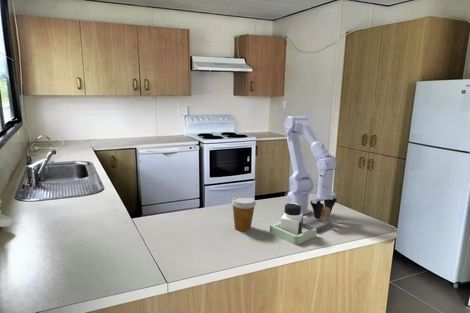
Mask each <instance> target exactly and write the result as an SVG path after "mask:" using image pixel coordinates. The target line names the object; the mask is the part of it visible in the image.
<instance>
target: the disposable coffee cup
mask: <svg viewBox="0 0 470 313" xmlns="http://www.w3.org/2000/svg"><path fill="white" fill-rule="evenodd" d="M231 204H232V211H233V213H232V214H233V222H234V223H233V224H234V229H235V231H238V232H248V231H250V230H251V228H252V223H253V216H254V210H255V206H256V204H257V202H256V200H255V198H253V197H251V196H245V195H239V196H235V197H233V198H232V201H231Z"/></svg>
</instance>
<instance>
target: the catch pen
mask: <svg viewBox="0 0 470 313" xmlns="http://www.w3.org/2000/svg"><path fill="white" fill-rule="evenodd" d="M280 224H281V221H278V222H276V223H273V224H271V225H269V233H270V234H271V235H274V236H275V237H277V238H280V239H282V240H285V241H286V242H289V243H292V245H293V244H294V245H295V246H298V245H300V244H302V243H305V242H306V241H308V240H311V239H314V238H315V237H317V233H316V231H317V229H315V228H314V229H311V230H306V231H304V232H302V233H301V234H299V235H297V236H296V235H294V234H292V233H289V232H287V231H285V230H282V229H280Z"/></svg>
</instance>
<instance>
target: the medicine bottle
mask: <svg viewBox="0 0 470 313" xmlns="http://www.w3.org/2000/svg"><path fill="white" fill-rule="evenodd" d="M300 214H301V206H300V205H298V204H296V203H288V204H287V203H286V204H284V213H283V215H282V216H281V218H280V222H281V224H280V229H282V230H285V231H287V232H289V233H292V234H294V235H296V236H297V235H299V234H302V233H303V228H302V224H303V219H304V215H300Z"/></svg>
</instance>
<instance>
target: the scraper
mask: <svg viewBox="0 0 470 313" xmlns="http://www.w3.org/2000/svg"><path fill="white" fill-rule="evenodd" d="M330 215H331V213H330V208H329V207H326V206H325V205H324V206H323V208H322V211H321V216H320V219H317V218H315V217H314V214H313V215H310V216H307V217H304V218H303V224H302V229H305V230H306V231H309V230H311V229H314V228H315V229H317V231H316V234H317V233H319V232H321V231H323V230H326V229H328V228H330V227H331V226H332V221H331V220H330V218H331V217H330Z"/></svg>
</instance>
